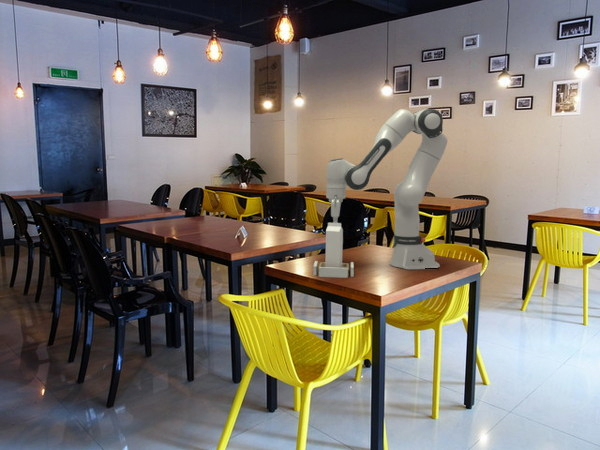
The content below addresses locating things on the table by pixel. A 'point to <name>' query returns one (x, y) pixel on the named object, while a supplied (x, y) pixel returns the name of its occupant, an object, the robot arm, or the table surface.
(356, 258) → the table surface
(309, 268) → the table surface
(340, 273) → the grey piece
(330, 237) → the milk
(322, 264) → the frame
